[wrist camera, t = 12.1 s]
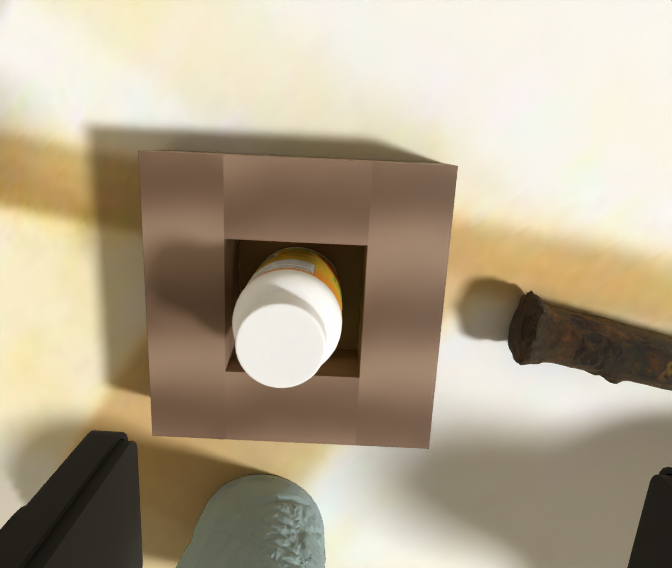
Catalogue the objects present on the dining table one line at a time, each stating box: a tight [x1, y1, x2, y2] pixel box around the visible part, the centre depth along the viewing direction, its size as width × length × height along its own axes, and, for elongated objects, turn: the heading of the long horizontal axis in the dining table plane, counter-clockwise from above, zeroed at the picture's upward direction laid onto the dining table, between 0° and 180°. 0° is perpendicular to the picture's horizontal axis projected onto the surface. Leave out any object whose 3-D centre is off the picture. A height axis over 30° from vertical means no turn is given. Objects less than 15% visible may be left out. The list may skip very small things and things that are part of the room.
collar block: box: [138, 150, 458, 449], centre depth 30 cm, size 16×16×4 cm
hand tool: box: [508, 291, 672, 391], centre depth 31 cm, size 19×4×5 cm, turn 73°
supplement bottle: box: [232, 247, 342, 388], centre depth 27 cm, size 5×5×10 cm
